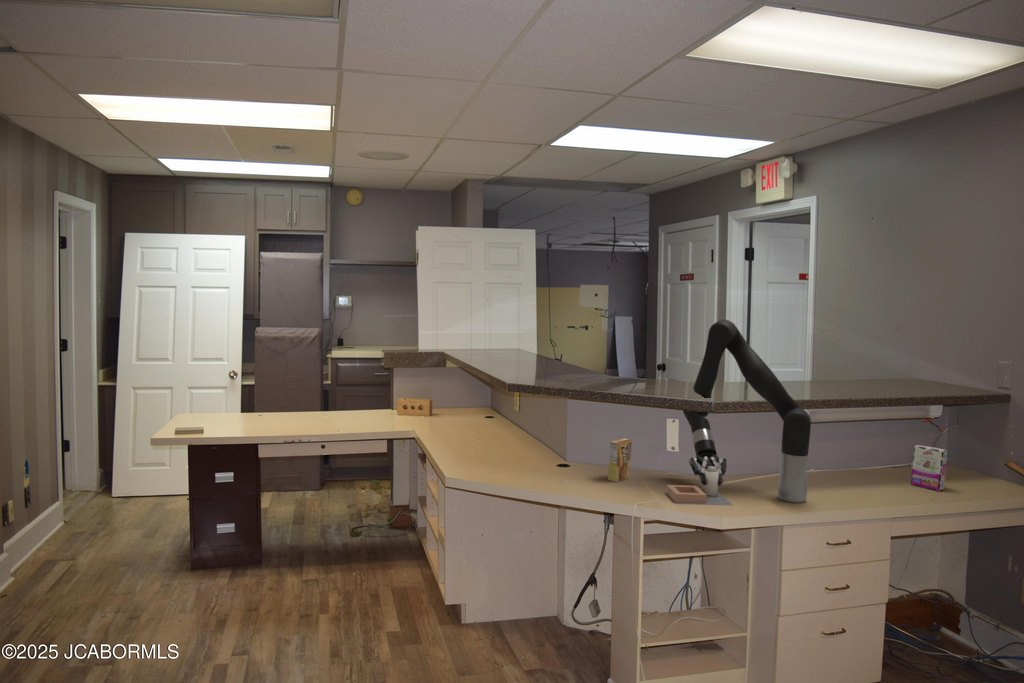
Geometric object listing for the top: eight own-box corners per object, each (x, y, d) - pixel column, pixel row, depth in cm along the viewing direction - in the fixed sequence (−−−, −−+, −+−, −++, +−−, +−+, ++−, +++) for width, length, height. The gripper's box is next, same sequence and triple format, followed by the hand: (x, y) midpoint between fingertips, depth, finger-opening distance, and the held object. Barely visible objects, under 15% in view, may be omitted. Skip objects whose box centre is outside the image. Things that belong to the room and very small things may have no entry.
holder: (717, 494, 276) (718, 483, 275) (733, 508, 260) (734, 496, 259) (662, 493, 274) (663, 482, 273) (675, 507, 258) (676, 495, 258)
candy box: (620, 476, 294) (623, 438, 293) (629, 478, 291) (632, 440, 290) (607, 479, 288) (609, 441, 286) (616, 482, 285) (618, 443, 284)
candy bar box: (944, 489, 299) (948, 449, 297) (939, 491, 295) (943, 451, 294) (914, 482, 307) (919, 443, 305) (909, 484, 304) (913, 445, 302)
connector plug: (714, 491, 274) (716, 465, 273) (719, 496, 269) (721, 469, 268) (701, 491, 273) (703, 465, 272) (705, 495, 268) (707, 468, 267)
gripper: (688, 437, 276) (696, 478, 265) (725, 439, 277) (735, 479, 267) (682, 448, 282) (690, 488, 271) (719, 449, 283) (728, 489, 272)
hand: (712, 484), depth 269 cm, fingers closed on connector plug, 5 cm apart
